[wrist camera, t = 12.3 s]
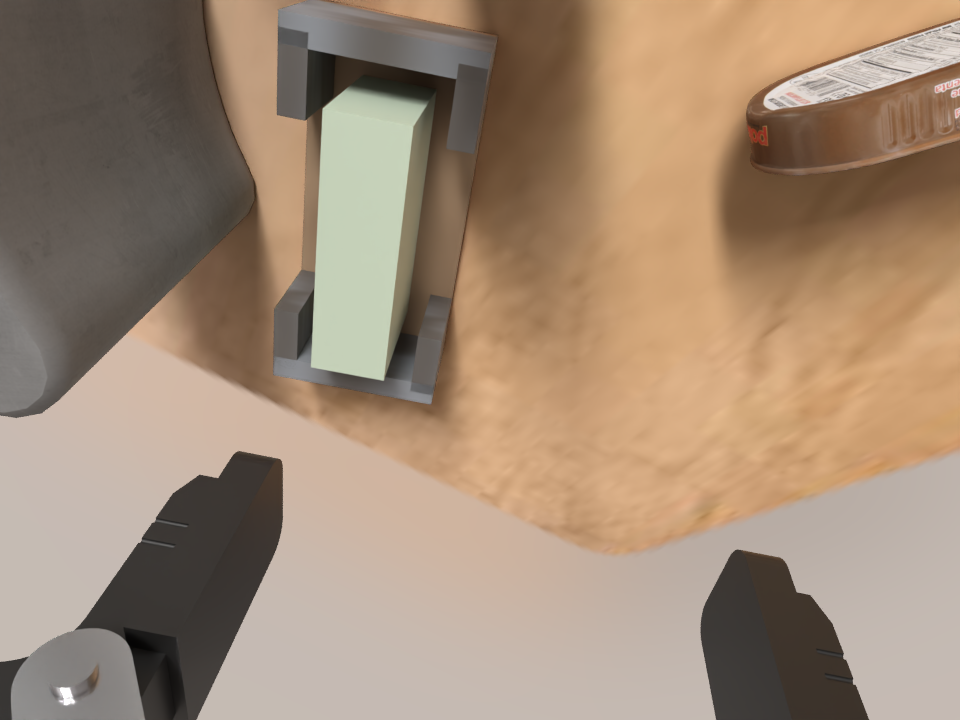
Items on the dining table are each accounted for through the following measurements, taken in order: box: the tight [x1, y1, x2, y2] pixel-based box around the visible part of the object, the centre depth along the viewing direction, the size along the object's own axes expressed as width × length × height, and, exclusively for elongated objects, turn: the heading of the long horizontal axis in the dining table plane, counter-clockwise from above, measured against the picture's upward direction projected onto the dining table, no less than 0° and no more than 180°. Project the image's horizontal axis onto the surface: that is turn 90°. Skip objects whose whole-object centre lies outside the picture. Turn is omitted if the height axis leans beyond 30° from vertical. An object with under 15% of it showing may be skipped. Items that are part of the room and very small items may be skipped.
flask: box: [0, 0, 255, 418], centre depth 25 cm, size 15×6×20 cm, turn 4°
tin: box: [746, 18, 960, 175], centre depth 27 cm, size 15×3×8 cm, turn 109°
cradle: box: [273, 0, 498, 404], centre depth 33 cm, size 8×17×5 cm, turn 170°
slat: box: [311, 75, 437, 381], centre depth 32 cm, size 4×12×7 cm, turn 170°
